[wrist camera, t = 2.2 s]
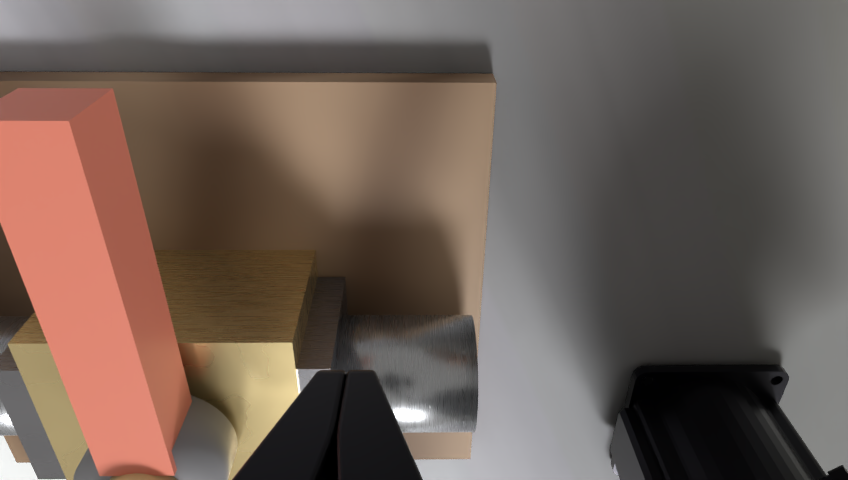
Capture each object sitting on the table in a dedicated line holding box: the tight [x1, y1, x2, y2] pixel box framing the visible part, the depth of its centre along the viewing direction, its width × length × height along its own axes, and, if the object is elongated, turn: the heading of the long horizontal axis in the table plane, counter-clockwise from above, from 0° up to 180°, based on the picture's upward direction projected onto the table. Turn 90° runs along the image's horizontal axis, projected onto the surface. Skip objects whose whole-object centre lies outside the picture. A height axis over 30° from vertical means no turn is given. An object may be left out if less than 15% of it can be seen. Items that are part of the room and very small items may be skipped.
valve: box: [0, 250, 478, 480], centre depth 22 cm, size 19×7×5 cm, turn 89°
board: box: [0, 72, 497, 463], centre depth 24 cm, size 20×17×1 cm
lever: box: [0, 88, 238, 480], centre depth 16 cm, size 13×4×3 cm, turn 179°
